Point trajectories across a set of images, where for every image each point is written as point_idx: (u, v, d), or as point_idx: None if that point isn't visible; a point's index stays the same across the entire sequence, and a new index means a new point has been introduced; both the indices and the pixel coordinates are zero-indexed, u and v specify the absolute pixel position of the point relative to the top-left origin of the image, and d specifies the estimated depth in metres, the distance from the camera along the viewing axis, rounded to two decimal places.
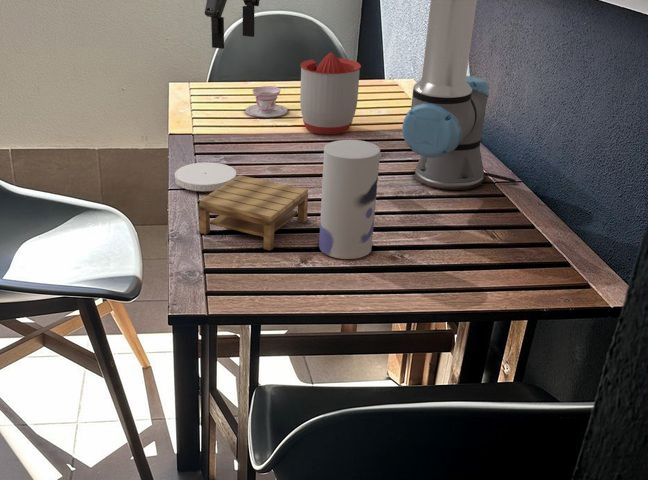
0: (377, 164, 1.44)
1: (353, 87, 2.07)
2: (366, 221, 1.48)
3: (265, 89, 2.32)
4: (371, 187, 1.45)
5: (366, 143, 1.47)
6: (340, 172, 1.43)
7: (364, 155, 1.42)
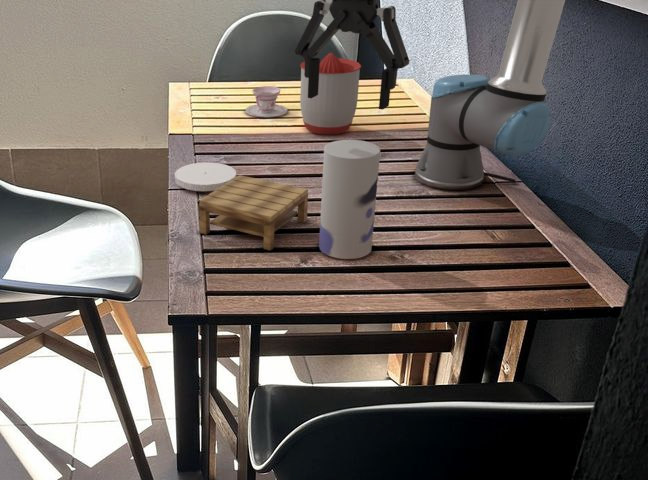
0: (377, 164, 1.44)
1: (353, 87, 2.07)
2: (366, 221, 1.48)
3: (265, 89, 2.32)
4: (371, 187, 1.45)
5: (366, 143, 1.47)
6: (340, 172, 1.43)
7: (364, 155, 1.42)
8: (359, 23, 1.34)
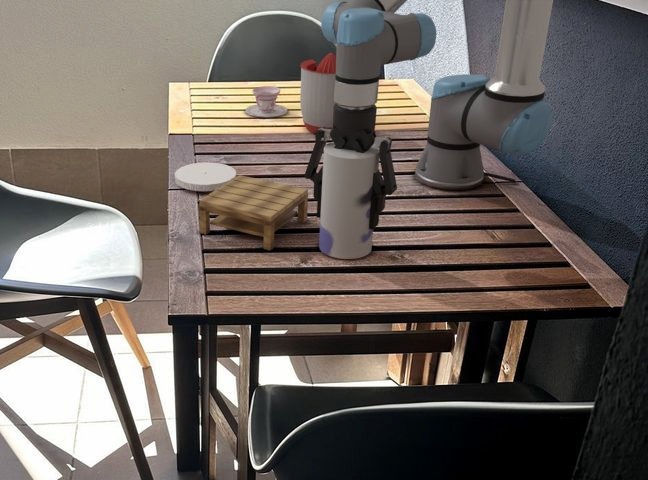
0: (377, 164, 1.44)
1: None
2: (366, 221, 1.48)
3: (265, 89, 2.32)
4: (371, 187, 1.45)
5: None
6: (340, 172, 1.43)
7: (364, 155, 1.42)
8: (358, 149, 1.43)
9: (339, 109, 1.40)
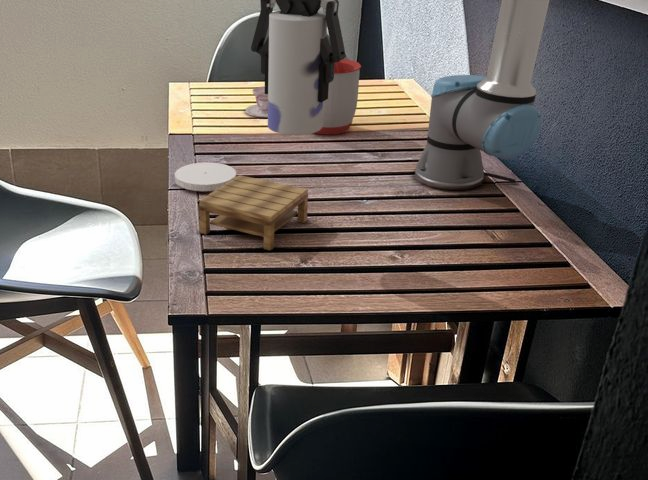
0: (324, 29, 1.38)
1: (353, 87, 2.07)
2: (314, 92, 1.42)
3: None
4: (318, 54, 1.39)
5: None
6: (285, 37, 1.37)
7: (310, 18, 1.36)
8: (304, 13, 1.37)
9: None
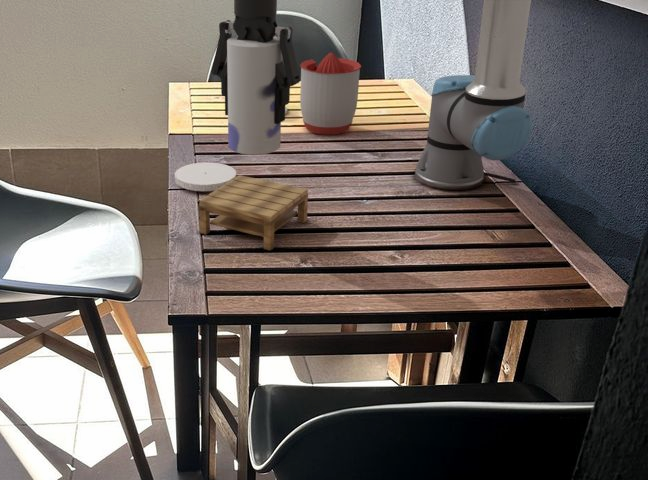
0: (279, 55, 1.45)
1: (353, 87, 2.07)
2: (270, 114, 1.48)
3: None
4: (274, 79, 1.46)
5: None
6: (241, 62, 1.43)
7: (265, 44, 1.42)
8: (259, 39, 1.43)
9: None
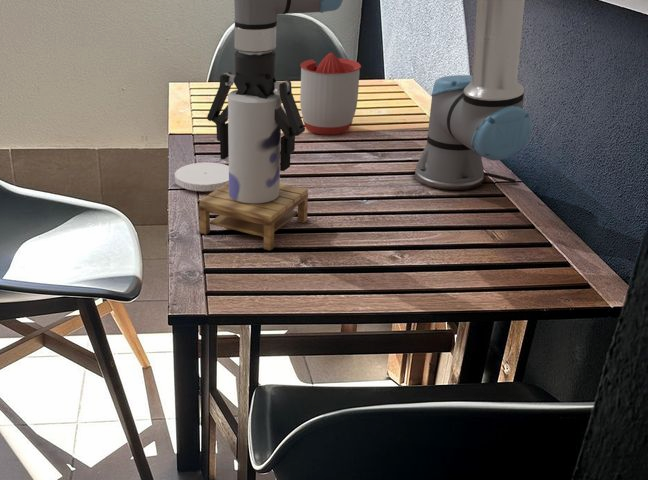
0: None
1: (353, 87, 2.07)
2: (270, 165, 1.53)
3: None
4: (273, 132, 1.51)
5: None
6: (241, 117, 1.48)
7: (264, 100, 1.47)
8: (259, 95, 1.48)
9: (239, 55, 1.45)
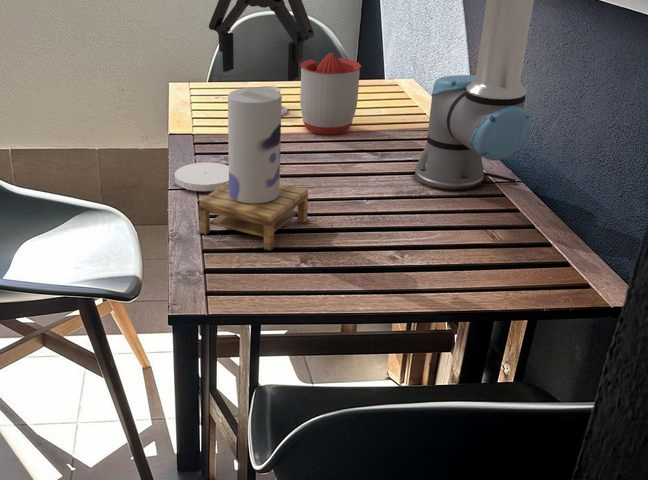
0: (278, 109, 1.50)
1: (353, 87, 2.07)
2: (270, 165, 1.53)
3: None
4: (273, 132, 1.51)
5: (269, 90, 1.53)
6: (241, 117, 1.48)
7: (264, 100, 1.47)
8: None
9: None
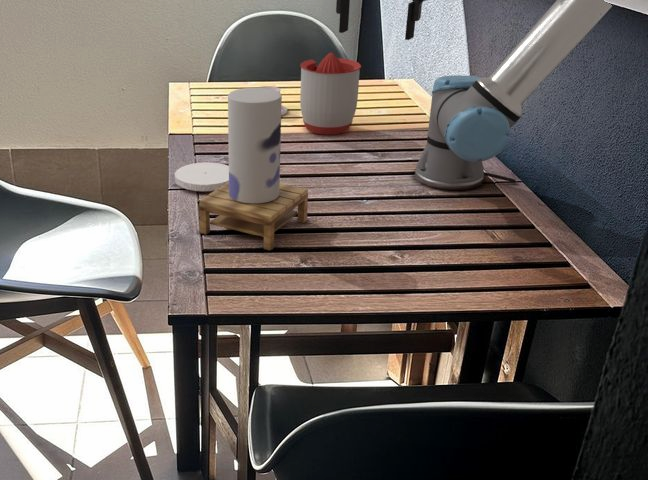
0: (278, 109, 1.50)
1: (353, 87, 2.07)
2: (270, 165, 1.53)
3: None
4: (273, 132, 1.51)
5: (269, 90, 1.53)
6: (241, 117, 1.48)
7: (264, 100, 1.47)
8: None
9: None
